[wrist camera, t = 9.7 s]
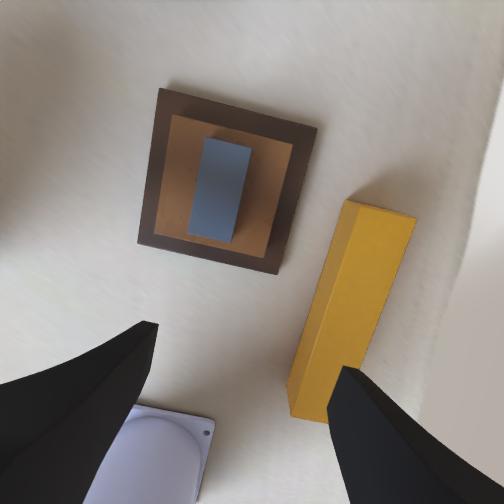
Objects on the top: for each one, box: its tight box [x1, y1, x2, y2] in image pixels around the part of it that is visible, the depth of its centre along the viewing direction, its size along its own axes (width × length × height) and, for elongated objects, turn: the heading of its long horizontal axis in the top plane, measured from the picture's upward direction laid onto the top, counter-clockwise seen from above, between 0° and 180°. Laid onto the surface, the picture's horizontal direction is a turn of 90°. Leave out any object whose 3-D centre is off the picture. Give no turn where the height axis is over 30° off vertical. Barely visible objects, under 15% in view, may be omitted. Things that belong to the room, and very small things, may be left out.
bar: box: [286, 200, 417, 424], centre depth 19 cm, size 14×3×3 cm, turn 167°
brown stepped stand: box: [137, 88, 318, 275], centre depth 17 cm, size 9×9×3 cm
